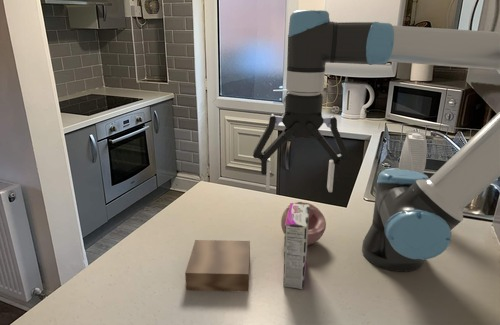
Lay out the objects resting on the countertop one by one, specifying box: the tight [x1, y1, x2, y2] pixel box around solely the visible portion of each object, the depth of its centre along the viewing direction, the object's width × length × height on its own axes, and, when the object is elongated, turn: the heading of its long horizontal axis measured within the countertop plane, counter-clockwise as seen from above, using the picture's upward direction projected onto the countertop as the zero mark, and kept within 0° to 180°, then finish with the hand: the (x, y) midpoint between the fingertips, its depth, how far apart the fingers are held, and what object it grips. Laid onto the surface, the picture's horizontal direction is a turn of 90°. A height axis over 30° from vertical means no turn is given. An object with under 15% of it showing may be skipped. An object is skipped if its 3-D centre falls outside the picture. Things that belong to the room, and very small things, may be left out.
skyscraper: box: [398, 130, 428, 174], centre depth 119 cm, size 8×8×28 cm
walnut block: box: [184, 239, 251, 293], centre depth 92 cm, size 14×14×5 cm
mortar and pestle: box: [280, 201, 327, 246], centre depth 104 cm, size 12×12×11 cm
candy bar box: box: [282, 202, 310, 291], centre depth 89 cm, size 11×5×16 cm, turn 168°
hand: (298, 188), depth 84 cm, fingers open, 13 cm apart
